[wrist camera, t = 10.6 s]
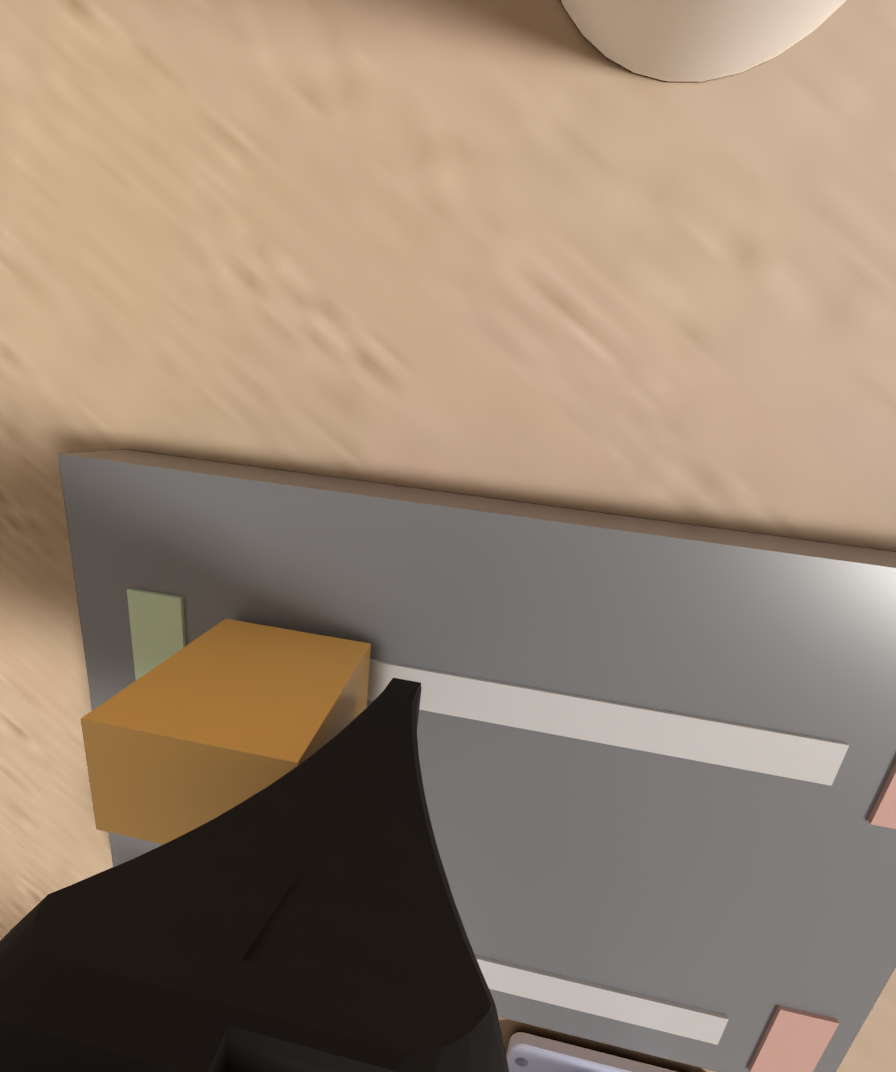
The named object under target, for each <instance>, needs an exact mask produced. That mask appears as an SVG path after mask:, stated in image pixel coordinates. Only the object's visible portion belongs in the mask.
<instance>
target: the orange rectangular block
mask: <svg viewBox="0 0 896 1072" xmlns="http://www.w3.org/2000/svg"><path fill="white" fill-rule="evenodd" d="M370 652H371V643H365V642H359V641H353V640H347V639H341V638H336V637H330V636H324V635H318V634H312V633H306V632H301V631H295V630H289V629H283V628H277V627H271V626H266V625H260V624H254V623H248V622H242V621H236V620H231V619H224V620H223V621H221V622H220V623H218V624H217V625H216V626H214V627H213V628H211V629H210V630H208V631H207V632H205V633H204V634H203V635H201V636H200V637H198V638H197V639H195V640H194V641H192V642H191V643H190V644H188V645H187V646H185V647H184V648H182V649H181V650H179V651H178V652H177V653H175V654H174V655H172V656H171V657H169V658H168V659H166V660H165V661H164V662H162V663H161V664H159V665H158V666H156V667H155V668H153V669H152V670H151V671H149V672H148V673H146V674H145V675H143V676H142V677H140V678H139V679H138V680H136V681H135V682H133V683H132V684H130V685H129V686H127V687H126V688H124V689H123V690H122V691H120V692H119V693H117V694H116V695H114V696H113V697H111V698H110V699H109V700H107V701H106V702H104V703H103V704H101V705H100V706H98V707H97V708H96V709H94V710H93V711H91V712H90V713H88V714H87V715H85V716H84V717H83V718H81V725H82V732H83V738H84V745H85V752H86V759H87V766H88V773H89V780H90V787H91V794H92V801H93V808H94V815H95V822H96V829H98V830H103V831H107V832H111V833H116V834H120V835H124V836H129V837H133V838H137V839H142V840H146V841H150V842H155V843H159V844H163V845H164V844H166V843H168V842H170V841H172V840H174V839H176V838H178V837H180V836H182V835H184V834H186V833H188V832H190V831H192V830H194V829H195V828H197V827H199V826H201V825H203V824H205V823H207V822H209V821H211V820H213V819H214V818H216V817H218V816H220V815H221V814H223V813H225V812H227V811H228V810H230V809H232V808H233V807H235V806H237V805H238V804H240V803H242V802H243V801H245V800H247V799H248V798H250V797H251V796H253V795H255V794H256V793H258V792H260V791H261V790H263V789H264V788H266V787H268V786H269V785H271V784H272V783H274V782H275V781H276V780H278V779H279V778H281V777H282V776H284V775H285V774H287V773H288V772H290V771H291V770H292V769H294V768H295V767H297V766H298V765H299V764H301V763H302V762H303V761H305V760H306V759H307V758H309V757H310V756H311V755H312V754H314V753H315V752H316V751H317V750H319V749H320V748H321V747H322V746H324V745H325V744H326V743H327V742H328V741H330V740H331V739H332V738H333V737H335V736H336V735H337V734H338V733H339V732H341V731H342V730H343V729H344V728H345V727H346V726H347V725H348V724H349V723H351V722H352V721H353V720H354V719H355V718H356V717H357V716H358V715H359V714H360V713H361V712H363V711H364V710H365V709H366V708H367V694H368V680H369V666H370Z"/></svg>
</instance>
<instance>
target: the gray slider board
mask: <svg viewBox="0 0 896 1072" xmlns="http://www.w3.org/2000/svg"><path fill="white" fill-rule="evenodd" d="M58 457H59V465H60V472H61V480H62V487H63V495H64V502H65V510H66V517H67V525H68V532H69V540H70V547H71V555H72V562H73V570H74V577H75V585H76V592H77V600H78V607H79V615H80V622H81V630H82V637H83V645H84V652H85V660H86V667H87V675H88V682H89V690H90V697H91V705H92V711H93V710H94V709H96V708H97V707H98V706H100V705H101V704H103V703H104V702H106V701H107V700H109V699H110V698H111V697H113V696H114V695H116V694H117V693H119V692H120V691H122V690H123V689H124V688H126V687H127V686H129V685H130V684H132V683H133V682H135V681H136V680H138V679H139V678H140V677H142V676H143V675H145V674H146V673H148V672H149V671H151V670H152V669H153V668H155V667H156V666H158V665H159V664H161V663H162V662H164V661H165V660H166V659H168V658H169V657H171V656H172V655H174V654H175V653H177V652H178V651H179V650H181V649H182V648H184V647H185V646H187V645H188V644H190V643H191V642H192V641H194V640H195V639H197V638H198V637H200V636H201V635H203V634H204V633H205V632H207V631H208V630H210V629H211V628H213V627H214V626H216V625H217V624H218V623H220V622H221V621H223V620H224V619H231V620H236V621H242V622H248V623H254V624H260V625H266V626H271V627H277V628H283V629H289V630H295V631H301V632H306V633H312V634H318V635H324V636H330V637H336V638H341V639H347V640H353V641H359V642H365V643H371V652H370V666H369V680H368V694H367V707H368V706H369V705H370V704H371V703H372V702H373V701H374V700H375V699H376V698H377V697H378V696H379V695H380V694H381V693H382V692H383V691H384V690H385V688H386V687H387V685H388V684H389V682H390V681H391V680H392V678H398V679H404V680H409V681H415V682H420V683H421V687H422V689H421V699H420V708H419V717H418V726H417V740H418V752H419V761H420V768H421V775H422V782H423V787H424V793H425V798H426V803H427V807H428V812H429V816H430V821H431V825H432V829H433V832H434V836H435V840H436V844H437V848H438V851H439V854H440V858H441V861H442V864H443V867H444V870H445V873H446V876H447V880H448V883H449V886H450V889H451V892H452V895H453V899H454V902H455V904H456V907H457V910H458V912H459V915H460V918H461V921H462V923H463V926H464V929H465V931H466V934H467V937H468V939H469V942H470V944H471V947H472V949H473V952H474V954H475V957H476V959H477V962H478V964H479V967H480V969H481V971H482V974H483V976H484V978H485V981H486V983H487V985H488V988H489V990H490V992H491V995H492V997H493V1000H494V1002H495V1005H496V1009H497V1014H498V1017H502V1018H506V1019H510V1020H514V1021H518V1022H522V1023H526V1024H530V1025H534V1026H538V1027H542V1028H546V1029H550V1030H553V1031H557V1032H561V1033H565V1034H569V1035H573V1036H577V1037H581V1038H585V1039H589V1040H593V1041H597V1042H601V1043H605V1044H609V1045H613V1046H617V1047H621V1048H625V1049H629V1050H633V1051H637V1052H641V1053H645V1054H649V1055H653V1056H657V1057H661V1058H665V1059H669V1060H672V1061H676V1062H680V1063H684V1064H688V1065H692V1066H696V1067H700V1068H704V1069H708V1070H712V1071H716V1072H836V1071H837V1069H838V1067H839V1065H840V1064H841V1062H842V1060H843V1058H844V1057H845V1055H846V1053H847V1051H848V1050H849V1048H850V1046H851V1044H852V1043H853V1041H854V1039H855V1037H856V1036H857V1034H858V1032H859V1030H860V1029H861V1027H862V1025H863V1023H864V1022H865V1020H866V1018H867V1016H868V1015H869V1013H870V1011H871V1009H872V1008H873V1006H874V1004H875V1002H876V1001H877V999H878V997H879V995H880V994H881V992H882V990H883V988H884V987H885V985H886V983H887V981H888V980H889V978H890V976H891V975H892V973H893V971H894V969H895V968H896V552H892V551H884V550H877V549H869V548H862V547H854V546H847V545H839V544H832V543H824V542H817V541H809V540H802V539H794V538H787V537H779V536H772V535H764V534H757V533H749V532H742V531H734V530H727V529H719V528H711V527H704V526H696V525H689V524H681V523H674V522H666V521H659V520H651V519H644V518H636V517H629V516H621V515H614V514H606V513H599V512H591V511H584V510H576V509H569V508H561V507H554V506H546V505H539V504H531V503H524V502H516V501H509V500H501V499H494V498H486V497H478V496H471V495H463V494H456V493H448V492H441V491H433V490H426V489H418V488H411V487H403V486H396V485H388V484H381V483H373V482H366V481H358V480H351V479H343V478H336V477H328V476H321V475H313V474H306V473H298V472H291V471H283V470H276V469H268V468H261V467H253V466H246V465H238V464H230V463H223V462H215V461H208V460H200V459H193V458H185V457H178V456H170V455H163V454H155V453H148V452H140V451H133V450H125V449H123V450H107V451H92V452H77V453H61V454H58ZM109 839H110V847H111V854H112V862H113V867H115V866H118V865H120V864H122V863H125V862H127V861H129V860H132V859H134V858H136V857H138V856H140V855H142V854H145V853H147V852H149V851H151V850H153V849H155V848H157V847H159V846H161V845H163V844H159V843H155V842H150V841H146V840H142V839H137V838H133V837H129V836H124V835H120V834H116V833H111V832H109Z"/></svg>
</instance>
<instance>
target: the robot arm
mask: <svg viewBox="0 0 896 1072" xmlns="http://www.w3.org/2000/svg"><path fill="white" fill-rule="evenodd" d="M421 689H422V687H421V683H420V682H415V681H409V680H404V679H398V678H392V680H391V681H390V682H389V684H388V685H387V687H386V688H385V690H384V691H383V692H382V693H381V694H380V695H379V696H378V697H377V698H376V699H375V700H374V701H373V702H372V703H371V704H370V705H369V706H368V707H367V708H366V709H365V710H364V711H363V712H361V713H360V714H359V715H358V716H357V717H356V718H355V719H354V720H353V721H352V722H351V723H349V724H348V725H347V726H346V727H345V728H344V729H343V730H342V731H341V732H339V733H338V734H337V735H336V736H335V737H333V738H332V739H331V740H330V741H328V742H327V743H326V744H325V745H324V746H322V747H321V748H320V749H319V750H317V751H316V752H315V753H314V754H312V755H311V756H310V757H309V758H307V759H306V760H305V761H303V762H302V763H301V764H299V765H298V766H297V767H295V768H294V769H292V770H291V771H290V772H288V773H287V774H285V775H284V776H282V777H281V778H279V779H278V780H276V781H275V782H274V783H272V784H271V785H269V786H268V787H266V788H264V789H263V790H261V791H260V792H258V793H256V794H255V795H253V796H251V797H250V798H248V799H247V800H245V801H243V802H242V803H240V804H238V805H237V806H235V807H233V808H232V809H230V810H228V811H227V812H225V813H223V814H221V815H220V816H218V817H216V818H214V819H213V820H211V821H209V822H207V823H205V824H203V825H201V826H199V827H197V828H195V829H194V830H192V831H190V832H188V833H186V834H184V835H182V836H180V837H178V838H176V839H174V840H172V841H170V842H168V843H166V844H164V845H161V846H159V847H157V848H155V849H153V850H151V851H149V852H147V853H145V854H142V855H140V856H138V857H136V858H134V859H132V860H129V861H127V862H125V863H122V864H120V865H118V866H115V867H113V868H111V869H108V870H106V871H103V872H101V873H99V874H96V875H94V876H92V877H89V878H87V879H85V880H82V881H80V882H78V883H75V884H73V885H71V886H68V887H66V888H63V889H61V890H58V891H56V892H53V893H51V894H48V895H47V896H46V897H45V898H44V899H43V900H42V901H41V902H40V903H39V904H38V905H37V906H36V907H35V908H34V909H33V910H32V911H30V912H29V913H28V914H27V915H26V916H25V917H24V918H23V919H22V920H21V921H20V922H19V923H18V924H17V925H16V926H15V927H14V928H12V929H11V931H10V932H9V933H8V934H7V935H6V936H5V937H4V938H3V939H2V940H1V941H0V1072H677V1071H673V1070H669V1069H665V1068H661V1067H657V1066H653V1065H650V1064H646V1063H642V1062H638V1061H634V1060H630V1059H626V1058H622V1057H618V1056H614V1055H610V1054H606V1053H602V1052H598V1051H594V1050H591V1049H587V1048H583V1047H579V1046H575V1045H571V1044H567V1043H563V1042H559V1041H555V1040H551V1039H547V1038H543V1037H539V1036H535V1035H532V1034H528V1033H523V1032H518V1033H515V1034H513V1035H512V1036H511V1038H510V1041H509V1046H508V1050H507V1054H506V1053H505V1048H504V1043H503V1039H502V1034H501V1029H500V1024H499V1020H498V1014H497V1009H496V1005H495V1002H494V1000H493V997H492V995H491V992H490V990H489V988H488V985H487V983H486V981H485V978H484V976H483V974H482V971H481V969H480V967H479V964H478V962H477V959H476V957H475V954H474V952H473V949H472V947H471V944H470V942H469V939H468V937H467V934H466V931H465V929H464V926H463V923H462V921H461V918H460V915H459V912H458V910H457V907H456V904H455V902H454V899H453V895H452V892H451V889H450V886H449V883H448V880H447V876H446V873H445V870H444V867H443V864H442V861H441V858H440V854H439V851H438V848H437V844H436V840H435V836H434V832H433V829H432V825H431V821H430V816H429V812H428V807H427V803H426V798H425V793H424V787H423V782H422V775H421V768H420V761H419V752H418V740H417V726H418V717H419V708H420V699H421Z"/></svg>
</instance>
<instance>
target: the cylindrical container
mask: <svg viewBox="0 0 896 1072" xmlns="http://www.w3.org/2000/svg"><path fill="white" fill-rule="evenodd" d="M561 1H562V4H563V6H564V8H565V10H566V11H567V13H568V14H569V16H570V17H571V19H572V20H573V21H574V23H575V24H576V26H577V27H578V29H579V30H580V32H581V33H582V35H583V36H584V37H585V38H586V39H587V40H589V41H590V42H591V43H592V44H593V45H594V46H595V47H596V48H597V49H598V50H599V51H600V52H601V53H602V54H603V55H604V56H606V57H607V58H609V59H611V60H612V61H614V62H616V63H618V64H619V65H621V66H623V67H625V68H626V69H628V70H630V71H632V72H633V73H637V74H640V75H644V76H648V77H652V78H655V79H659V80H663V81H672V82H704V81H708V80H712V79H717V78H721V77H725V76H730V75H734V74H738V73H742V72H744V71H746V70H748V69H750V68H752V67H755V66H757V65H759V64H761V63H763V62H766V61H768V60H770V59H772V58H774V57H777V56H778V55H780V54H781V53H783V52H784V51H786V50H787V49H789V48H790V47H792V46H793V45H794V44H796V43H797V42H799V41H800V40H802V39H803V38H805V37H806V36H807V35H809V34H810V33H812V32H813V31H814V30H815V29H817V28H818V27H819V26H820V25H821V24H822V23H823V22H824V21H825V20H826V19H827V18H828V17H829V16H830V15H832V14H833V13H834V12H835V11H836V10H837V9H838V8H839V7H840V6H841V5H842V4H843V3H844V2H845V1H846V0H561Z"/></svg>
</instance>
